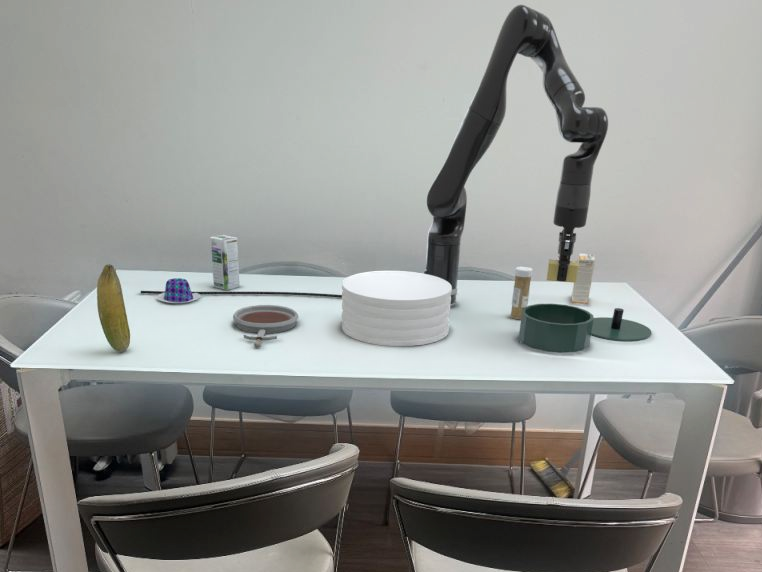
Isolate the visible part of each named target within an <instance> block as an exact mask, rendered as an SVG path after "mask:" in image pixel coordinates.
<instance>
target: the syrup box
mask: <svg viewBox="0 0 762 572" xmlns="http://www.w3.org/2000/svg"><path fill="white" fill-rule="evenodd" d="M209 239H210V253H211V265H212V266H211V267H212V268H211V269H212V279H213V282H212V283H213V288H217V289H220V290H224V291H230V290H234V289H237V288H239V287H241V285H240V282H241V281H240V267H239V265H240V263H239V247H238V237H235V236H229V235H225V234H217V235H213V236H210V237H209Z"/></svg>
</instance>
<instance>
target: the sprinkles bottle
mask: <svg viewBox="0 0 762 572" xmlns="http://www.w3.org/2000/svg"><path fill="white" fill-rule="evenodd" d="M532 276H533V268H531V267H529V266H517V267H516V268H515V270H514V284H513V289H512V290H513V291H512V300H511V311H510V317H511V319H514V320H521V315H522V309H523V308H525V307H527V306H529V297H530V287H531V280H532V279H531V278H532Z"/></svg>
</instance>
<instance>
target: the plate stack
mask: <svg viewBox="0 0 762 572" xmlns="http://www.w3.org/2000/svg"><path fill="white" fill-rule="evenodd" d="M451 292H452V286H451V284H450V283H449V282H447V281H446V280H444V279H441V278H439V277H436V276H432V275H428V274H424V272H417V271H406V270H373V271H365V272H358V273H355V274H352V275H349V276H347V277H345V278H344V279H343V280H342V282H341V295H342V298H341V300H342V302H341V310H342V311H341V330H342V332H343V333H344V334H345V335H347V336H348V337H350V338H352V339H354V340H357V341H361V342H364V343H367V344H372V345H380V346H388V347H389V346H390V347H414V346H422V345H427V344H432V343H436V342H438V341H441V340H442V339H444V338H446V337H447V335H448V334H449V329H450V326H449V324H450V314H451V307H450V303H451Z"/></svg>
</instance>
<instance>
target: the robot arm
mask: <svg viewBox="0 0 762 572" xmlns="http://www.w3.org/2000/svg"><path fill="white" fill-rule="evenodd" d="M492 50H493V51H492V53H491V55H490V57H489V61H488V63H487V66H486V68H485V71H484V73H483V76H482V77H481V80H480V82H479V85H478V87H477V89H476V91H475V94H474V96H473V97H472V100H471V102H470V104H469V106H468V108H467V110H466V112H465V114H464V117H463V118H462V121H461V124H460V126H459V128H458V131H457V133H456V135H455V137H454V140H453V142H452V144H451V147H450V149H449V152H448V154H447V158H446V159H445V161H444V163H443V165H442V167H441V168H440V170H439V172H438V173H437V176H436V177H435V179H434V180H433V182H432V184H431V186H430V187H429V189H428V191H427V193H426V201H425V202H426V203H425V205H426V208H427V210H428V212H429V214H430V215H431V216H432V221H431V225H430V227H429V229H428V232H427V239H426V240H427V241H426V256H425V269H424V272H423V274H428V275H432V276H436V277H439V278H441V279H444V280H446V281H447V282H449V283H450V284H451V286H452V292H451V303H450V308H452V307H455V306H456V305H457V295H458V278H459V265H460V254H461V253H460V252H461V241H462V235H463V232H464V229H465V222H466V212H467V204H468V203H467V202H468V195H467V190H466V188H465V186H466V183H467V181H468V178H469V177H470V175H471V174H472V171H473V170H474V168H475V167H477V165H478V163H479V162H480V161H481V159H482V158H483V157H484V155H485V154H486V152H487V151H488V150H489V148H490V147H491V145H492V143H493V141H494V140H495V139H496V136H497V134H498V132H499V130H500V128H501V126H502V124H503V121H504V119H505V117H506V111H507V85H508V84H507V83H508V77H509V74H510V70H511V68H512V66H513V64H514V62H515V59H516V57H517V55H518V54H519V55H521V56H523V57H526V58H530V59H531V60H532V61H533V62H534V63H535V64H536V65H537V66H538V67H539V68H540V70H541V72H542V88H543V91H544V93H545V96H546V97H547V99H548V101H549V102H550V104H551V106H552V107H553V109H554V111H555V117H556V122H557V126H558V131H559V134H560V136H561V138H562V139H563V140H564V141H566V142H568V143H572V144H575V143H576V144H579V143H580V145H579V147H578V150H577V151H574V152H573V153H570V154H567V155H565V157H564V158H563V160H562V165H561V173H560V179H559V184H558V189H557V192H556V193H557V194H556V200H555V206H554V207H555V208H554V214H553V225H555V226H556V227H562V228H563V229H562V230H561V231H559V234H558V246H557V247H558V248H557V254H558V257H557V258H558V260H559V261H558V263H559V264H558V265H559V267H558V274H557V281H556V282H560V281H566V277H567V270H568V266H569V264H570V261H571V256H572V255H573V254H574V249H575V248H574V247H575V244H576V242H577V233H576V232H575V229H576V228H577V229H580V228H584V227H585V226H586V225H587V219H588V212H589V206H590V201H591V192H592V191H591V189H592V188H591V186H592V181H593V176H594V175H593V174H594V166H595V164H596V161H597V160H598V157H599V155H600V151H601V149H602V146H603V144H604V143H605V140H606V137H607V133H608V129H609V116H608V114H607V112H606V111H605V109H603V108H602V107H599V106H584V105H585V102H586V94H585V90H584V89H583V87H582V85H581V84H580V82H579V81H578V79H577V78H576V76H575V74H574V72H573V70H572V69H571V68H570V66H569V64H568V62H567V60H566V58H565V55H564V53H563V50H562V47H561V45H560V42H559V39H558V36H557V33H556V30H555V27H554V25H553V23H552V21H551V20H550V18H549V17H548V16H547V15H545V14H544V13H542V12H540V11H538V10H536V9H534V8H532V7H529V6H527V5H525V4H518V5H516V6H514V7H513V8H512V9H511V10H510V11H509V13H508V14H507V16H506V17H505V20H504V21H503V23H502V25H501V28H500V31H499V33H498V36H497V38H496V41H495V44H494V47H493V49H492ZM164 292H165V290H164V291H163V290H140V294H146V295H149V294H151V295H159V294H161V293H164ZM192 293H198V294H200V295H274V296H275V295H279V296H280V295H281V296H307V297H308V296H309V297H311V296H312V297H326V298H339V299H340V298H341V299H342V294H333V293H317V292H297V291H296V292H295V291H294V292H293V291H291V292H290V291H192Z"/></svg>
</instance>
